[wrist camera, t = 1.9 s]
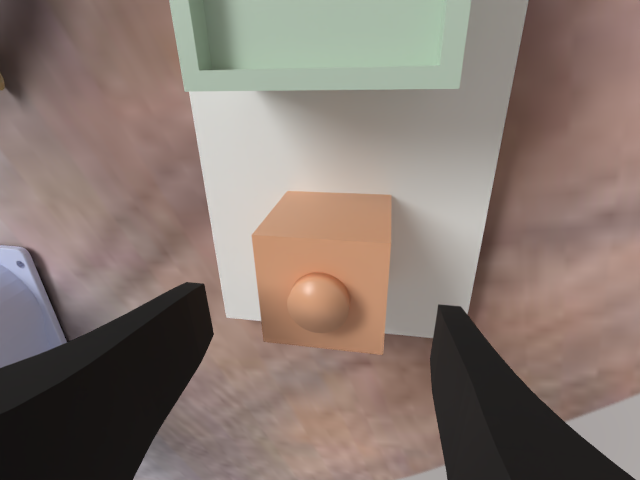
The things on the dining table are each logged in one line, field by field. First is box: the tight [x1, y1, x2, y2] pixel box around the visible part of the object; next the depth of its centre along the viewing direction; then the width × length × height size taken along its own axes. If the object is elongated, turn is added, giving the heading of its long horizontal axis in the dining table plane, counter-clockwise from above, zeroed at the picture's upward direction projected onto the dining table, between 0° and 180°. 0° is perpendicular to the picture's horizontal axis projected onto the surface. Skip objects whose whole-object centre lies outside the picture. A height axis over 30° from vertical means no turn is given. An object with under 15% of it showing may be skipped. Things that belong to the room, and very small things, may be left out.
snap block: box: [252, 191, 392, 355], centre depth 14 cm, size 4×4×5 cm
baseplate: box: [169, 0, 529, 338], centre depth 12 cm, size 20×12×6 cm, turn 1°
